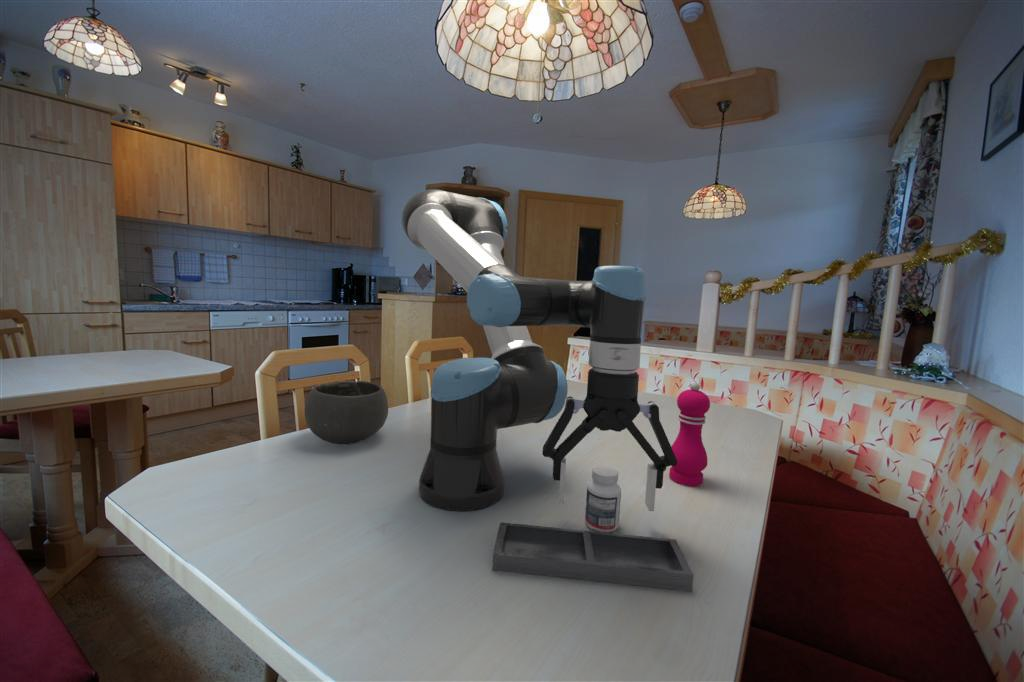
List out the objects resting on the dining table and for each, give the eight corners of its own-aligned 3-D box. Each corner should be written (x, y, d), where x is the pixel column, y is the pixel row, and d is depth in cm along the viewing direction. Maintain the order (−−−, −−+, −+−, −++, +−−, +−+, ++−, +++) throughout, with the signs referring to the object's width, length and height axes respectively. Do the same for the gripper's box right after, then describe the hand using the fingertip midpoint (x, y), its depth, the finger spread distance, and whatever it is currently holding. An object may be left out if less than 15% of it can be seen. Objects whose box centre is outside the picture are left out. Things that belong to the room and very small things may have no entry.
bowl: (349, 423, 109) (349, 375, 108) (404, 436, 101) (405, 385, 100) (286, 444, 93) (285, 388, 92) (345, 461, 85) (345, 400, 84)
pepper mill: (709, 490, 80) (720, 387, 78) (669, 485, 82) (679, 384, 80) (700, 474, 87) (710, 380, 85) (664, 470, 89) (672, 377, 87)
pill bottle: (594, 511, 70) (598, 460, 69) (624, 523, 67) (628, 470, 66) (578, 524, 66) (582, 470, 65) (608, 537, 63) (613, 481, 62)
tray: (492, 569, 54) (492, 553, 54) (499, 536, 62) (500, 522, 62) (691, 591, 52) (693, 575, 52) (674, 554, 60) (675, 539, 59)
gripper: (530, 369, 61) (523, 508, 63) (707, 378, 59) (695, 522, 61) (532, 361, 69) (526, 486, 71) (690, 369, 66) (679, 498, 68)
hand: (604, 503), depth 66 cm, fingers open, 13 cm apart
